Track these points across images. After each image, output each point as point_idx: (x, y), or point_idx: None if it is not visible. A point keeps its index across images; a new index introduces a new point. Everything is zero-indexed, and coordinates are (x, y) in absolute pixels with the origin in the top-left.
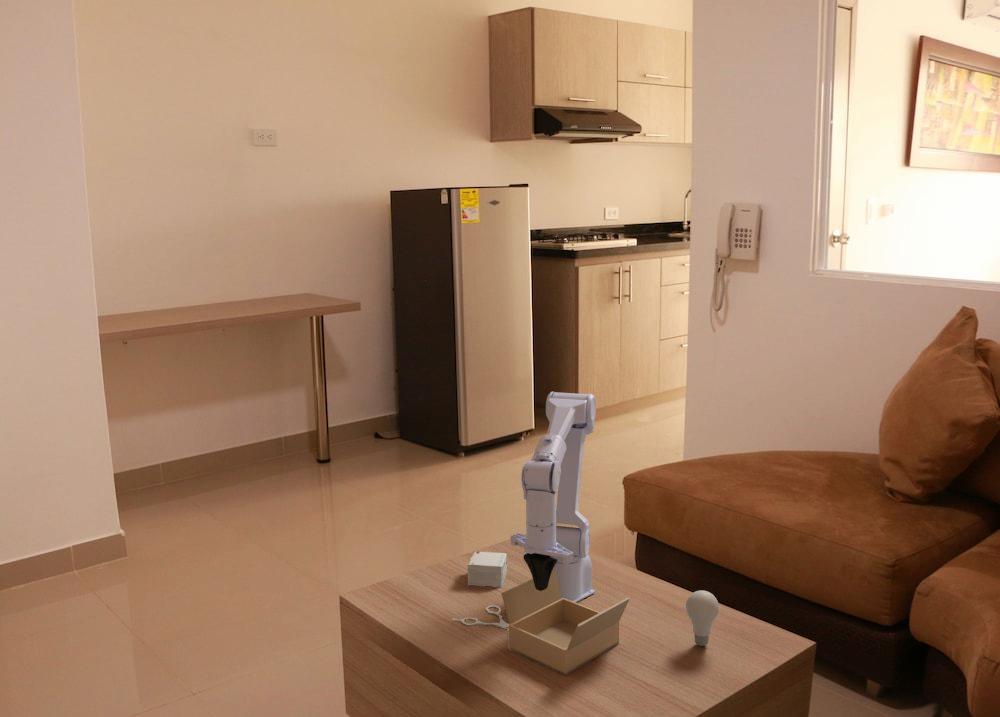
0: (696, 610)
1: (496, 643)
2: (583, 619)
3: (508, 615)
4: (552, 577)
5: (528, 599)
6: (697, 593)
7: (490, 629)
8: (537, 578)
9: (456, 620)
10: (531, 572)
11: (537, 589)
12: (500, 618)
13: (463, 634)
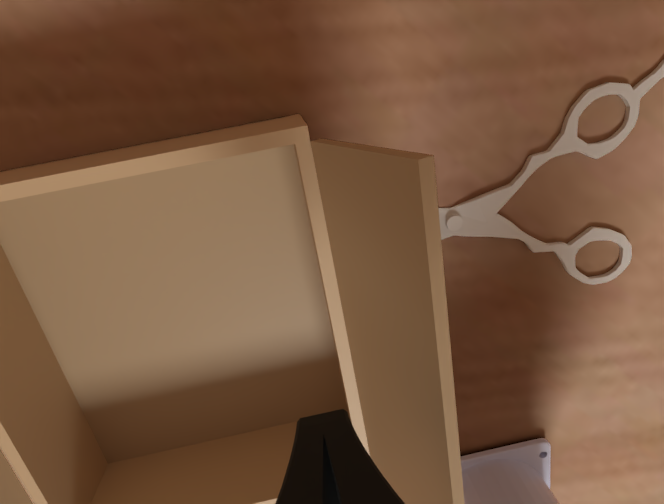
0: None
1: (378, 101)
2: (252, 458)
3: (330, 145)
4: None
5: (377, 335)
6: None
7: (490, 154)
8: (311, 485)
9: (653, 73)
10: (387, 499)
11: (326, 414)
12: (524, 236)
13: (542, 23)
